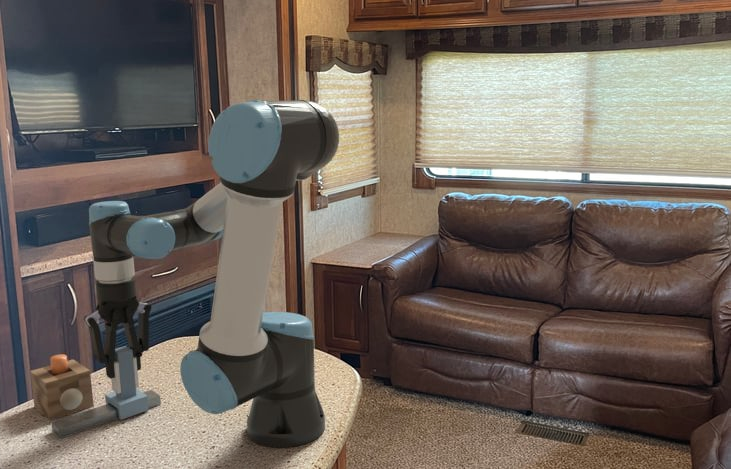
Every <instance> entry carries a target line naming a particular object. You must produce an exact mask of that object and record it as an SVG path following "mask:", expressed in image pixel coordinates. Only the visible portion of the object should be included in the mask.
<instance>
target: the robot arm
mask: <svg viewBox="0 0 731 469" xmlns="http://www.w3.org/2000/svg"><path fill="white" fill-rule="evenodd" d="M339 143H340V131H339V126H338V124H337V122H336V120H335V118H334V117H333V115H332V113H331V112H329V110H328V109H326V108H325V107H324V106H322V105H321V104H319V103H317V102H315V101H311V100H308V99H294V100H259V99H256V100H250V101H245V102H236V103H234V104H231V105H229V106H228V107H226V108H225V109H223V110H222V111H221V112H220V113H219V114H218V115H217V117H216V119H215V120H214V121H213V124H212V126H211V129H210V132H209V137H208V144H207V145H208V146H207V147H208V155H209V158H212V161H211V165H212V167H213V169H214V171H215V172H216V174H217V175H219V177H220V179H219V183H218V184H216V185H215V186H214V187H213V188H212V189H210V190H209V191H208V192H206V193H205V194H204V195H203V196H202V197H200V198H199V199H198V200H196V201H195V202H193V203H192V204H191V205H189V206H187V207H186V208H183V209H177V210H172V211H165V212H161V213H155V214H149V215H142V216H141V215H132V214H131V211H130V208H129V204H128V203H127V202H126V201H123V200H108V201H100V202H99V201H98V202H95V203H92V204H91V205H90V206H89V208H88V213H89V214H88V216H89V218H88V220H89V222H88V226H89V233H90V242H91V244H90V245H91V252H92V256H93V257H92V258H93V259H92V260H93V271H94V279H95V280H96V282H95V290H96V291H95V292H96V299H97V305H96V307H95V311H94V312H92V314H90V315H84V317H83V320H84V322H85V323H86V325H87V326H88V330H89V335H90V341H91V346H92V347H91V348H92V351H93V355H94V356H93V357H94V360H96V361H97V362H99V363H100V364H105V366H104V367H105V375H106V376H107V378H109V379H110V381H111V390H112V392H116V393H117V394H119V393H121V383H120V372H119V363H118V362H117V361H115V349H116V345H117V344H116V343H117V331H118V329H119V327H118V326H119V325H120V324H122V325H123V328H124V333H125V336H126V339H127V344H128V347H129V348H130V349H132V351H133V362H134V373H135V384H136V389H138V388H140V385H139V374H138V371H140V370H141V368H142V360H141V358H142V357H143V353H144V352H147V351H149V350H150V342H149V341H150V336H149V335H150V321H149V320H150V318H149V317H150V314H151V310H152V308H153V307H152V305H151V304H149V303H146V302H140V301H139V299H138V298H137V284H136V279H135V278H134V276H135V274H136V272H135V262H134V261H135V260H134V256H135V257H138V258H141V259H145V260H150V259H151V260H152V259H153V260H160V259H163V258H165V257H166V256H168V254H169V253H171V252H172V251H175V250H179V249H182V248H187V247H192V246H196V245H200V244H208V243H211V242H213V241H216V240H219V239H221V242H220V243H221V244H220V251H219V258H218V266H217V270H216V271H217V272H216V279H215V286H214V293H213V300H212V308H211V316H210V321H208V322H207V323H205V324H203V326H202V327H201V328H200V330H199V335H198V343H197V347H196V349H195V350H193V349H191V350H190V351H189V352H187V353H186V354H185V355H184V356H183V357H182V358H181V362H180V367H179V368H180V370H179V371H180V377H181V381H182V385H183V388H185V391H186V393H187V394H188V397H190V400H192V402H193V403H194V404H195V405H196V407H198V408H199V409H200V410H202V411H204V412H205V413H207V414H211V415H219V414H223V413H225V412H229V411H232V410H235V409H236V408H237V407H239V406H241V405H244V404H246V403H247V402H249V401H251V400H252V401H251V405H250V410H249V414H248V416H247V420H246V433H247V436H248V437H249V439H250V440H251V441H253V442H254V443H256V444H258V445H261V446H265V447H270V448H291V447H297V446H302V445H305V444H308V443H311V442H313V441H314V440H316V439H318V438H320V436H321V435H323V433H324V431H325V429H326V416H325V413H324V410H323V407H322V404H321V402H320V399H319V397H318V394H317V390H316V384H315V382H316V381H315V376H316V375H315V345H314V343H315V342H314V341H315V336H314V332H313V330H314V329H313V324H312V321H311V320H310V319H309V318H308V317H307V316H304V315H302V314H299V313H294V312H286V311H268V312H267V311H266V312H265V306H266V301H267V296H268V289H269V283H270V277H271V271H272V266H273V259H274V254H275V247H276V242H277V241H276V240H277V236H278V231H279V223H280V219H281V212H282V208H283V202H285V201H286V200H288V199H290V198H291V197H292V196H293V195H294V194H295V188H296V183H297V181H299V182H300V181H304V180H306V179H308V178H309V177H311V176H312V175H314V174H315V173H317V172H318V171H320V170H322V169H323V168H324V167H326V166H327V165H328V164H329V163H330V162H331V161H332V160H333V159H334V157H335V156H336V153H337V152H338V148H339V145H340V144H339ZM136 312H138V313H137V329H138V330H137V332H136V328H135V320H134V315H135V314H136ZM100 317H101V319H102V320H103V321H104V328H105V331H104V332H105V334H104V344H103V340H102V334H101V329H100V326H99V324H100Z"/></svg>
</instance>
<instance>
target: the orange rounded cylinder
mask: <svg viewBox="0 0 731 469" xmlns="http://www.w3.org/2000/svg"><path fill="white" fill-rule="evenodd" d="M49 360H50V365H51V370H52V374H54V375H59V374H63V373H66V372H68V362H67V361H68V356H67V355H66V354H54V355H52V356H51V357H49Z"/></svg>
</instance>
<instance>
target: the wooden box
mask: <svg viewBox="0 0 731 469" xmlns="http://www.w3.org/2000/svg"><path fill="white" fill-rule="evenodd" d="M67 362H68V372H66V373H63V374H59V375H54V374H52V370H51V364H50V365H47V366H43V367H39V368H36V369H31V370H29V373H30V374H29V375H30V381H31V388H32V390H31V391H32V396H33V397H32V398H33V405H34V408H36V409H37V410H38V411H39V412H40V413H41V414H42V415H44V416H45V417H46V418H47V419H48V420H50V421H51V420H55V419H58V418H60V417H64V416H67V415H70V414H73V413H77V412H79V411H82V410H85V409H88V408H89V409H90V408H92V407H94V406H95V404H94V396H93V388H92V378H91V377H92V376H91V375H92V374H91V370H90V369H89V368H87V367H86V366H84V365H82V364H81V363H80V362H78V361H76V360H75V359H69V360H67Z"/></svg>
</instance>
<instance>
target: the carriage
mask: <svg viewBox="0 0 731 469" xmlns="http://www.w3.org/2000/svg"><path fill="white" fill-rule="evenodd" d="M115 361H117V362H118V363H119V372H120V383H121V393H119V394H117V393H116V392H115V391H112V392H109V393H106V394H104V396H105V405H106V404H109V403H110V404H112V405H113V406H115V407H116V408H117V409H118V415H119V419H120V420H124V419H127V418H130V417H133V416H136V415H139V414H142V413H144V412H147V411H149V409H150V408H149V407H148V396H147V395H146V394H144V393H143V392H142V391H141V390H139V389H138V388H136V384H135V373H134V362H133V351H132V349H130V348H129V346H127V345H124V346H121V347H115ZM119 419H118V420H119Z"/></svg>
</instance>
